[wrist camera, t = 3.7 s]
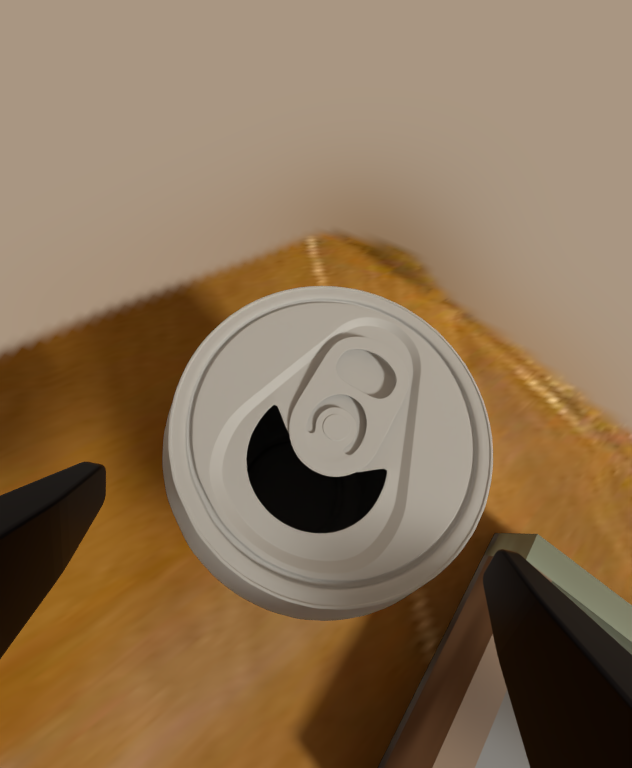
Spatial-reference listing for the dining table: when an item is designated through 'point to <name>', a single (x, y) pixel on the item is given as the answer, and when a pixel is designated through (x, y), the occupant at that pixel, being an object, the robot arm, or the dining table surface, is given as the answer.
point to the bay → (489, 670)
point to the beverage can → (326, 453)
